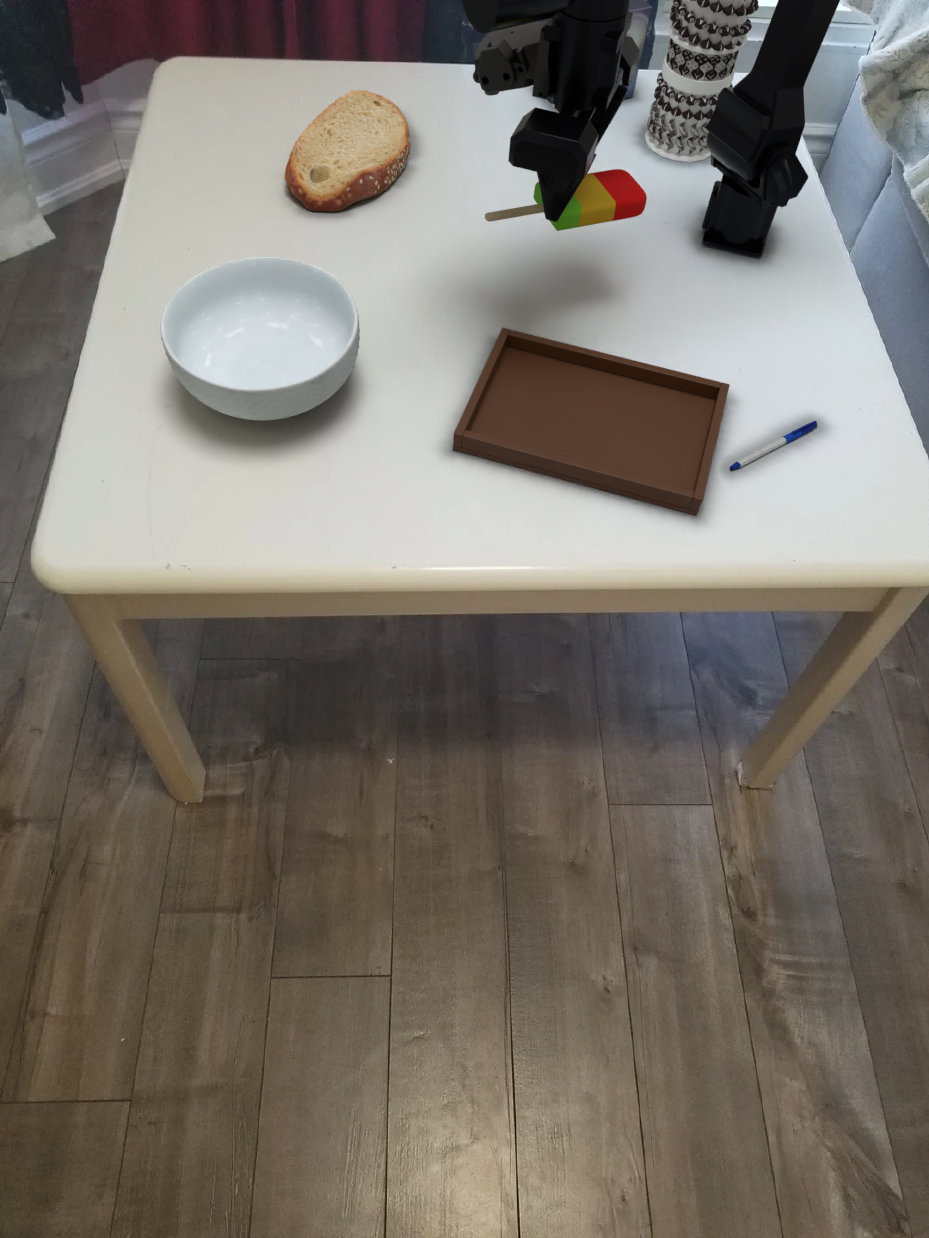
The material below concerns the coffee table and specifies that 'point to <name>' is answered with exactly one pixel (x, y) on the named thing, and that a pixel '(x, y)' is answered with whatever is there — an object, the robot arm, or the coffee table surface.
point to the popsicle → (590, 201)
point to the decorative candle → (695, 74)
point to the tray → (595, 420)
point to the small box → (636, 35)
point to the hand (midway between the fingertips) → (563, 197)
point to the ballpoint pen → (775, 445)
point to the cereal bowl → (261, 336)
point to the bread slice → (348, 152)
